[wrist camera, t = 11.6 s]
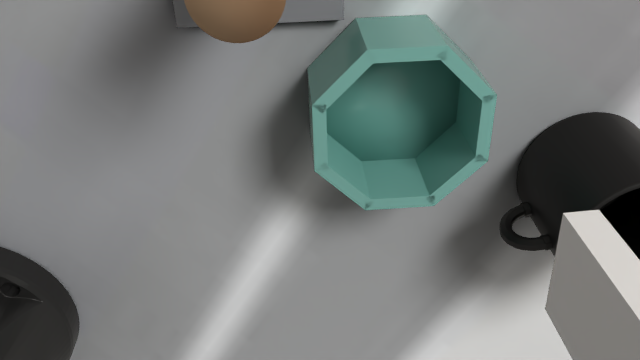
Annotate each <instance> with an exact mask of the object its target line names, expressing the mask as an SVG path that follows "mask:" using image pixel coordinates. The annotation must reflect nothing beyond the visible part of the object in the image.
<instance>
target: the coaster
mask: <svg viewBox="0 0 640 360" xmlns="http://www.w3.org/2000/svg"><path fill="white" fill-rule="evenodd" d="M173 6H174V13H175V19H176V25H177V28H185V27H199V26H198V25H197V24H196V23H195V22H194V21H193V19H192V18H191V16H190V14H189V12H188V10H187V8H186V5H185V2H184V0H173ZM327 20H344V0H286V4H285V8H284V11H283V13H282V16H281V18H280V19H279V21H278V23H286V22H307V21H327Z"/></svg>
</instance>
